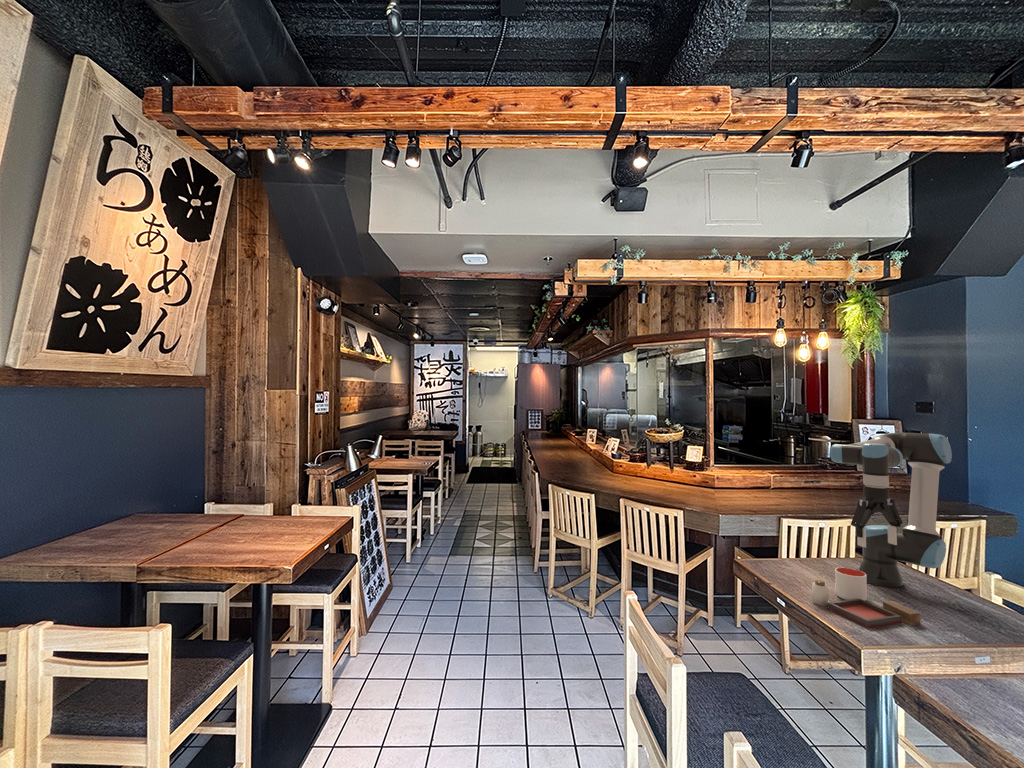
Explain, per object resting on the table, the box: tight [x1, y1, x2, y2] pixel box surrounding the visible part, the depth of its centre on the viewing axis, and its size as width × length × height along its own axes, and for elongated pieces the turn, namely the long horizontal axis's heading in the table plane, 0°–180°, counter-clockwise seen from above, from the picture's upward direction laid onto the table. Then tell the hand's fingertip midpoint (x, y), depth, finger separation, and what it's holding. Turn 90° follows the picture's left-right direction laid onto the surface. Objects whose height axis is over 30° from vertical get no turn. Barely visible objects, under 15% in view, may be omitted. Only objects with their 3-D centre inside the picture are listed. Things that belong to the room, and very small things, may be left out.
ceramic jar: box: [811, 579, 829, 607], centre depth 179 cm, size 5×5×8 cm
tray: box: [827, 599, 903, 629], centre depth 169 cm, size 15×15×2 cm
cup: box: [834, 567, 868, 601], centre depth 184 cm, size 10×10×10 cm
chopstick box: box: [882, 600, 921, 626], centre depth 167 cm, size 4×10×4 cm, turn 9°
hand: (877, 545), depth 171 cm, fingers open, 13 cm apart
